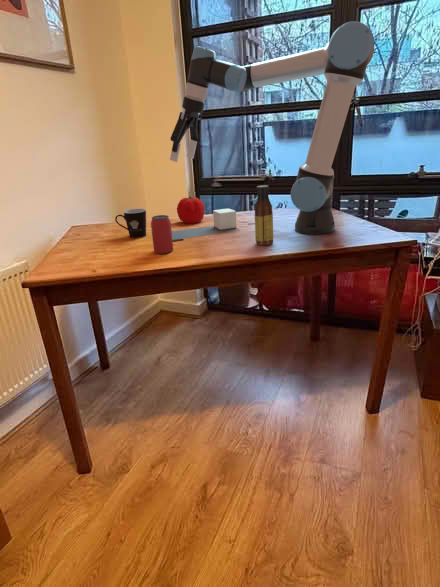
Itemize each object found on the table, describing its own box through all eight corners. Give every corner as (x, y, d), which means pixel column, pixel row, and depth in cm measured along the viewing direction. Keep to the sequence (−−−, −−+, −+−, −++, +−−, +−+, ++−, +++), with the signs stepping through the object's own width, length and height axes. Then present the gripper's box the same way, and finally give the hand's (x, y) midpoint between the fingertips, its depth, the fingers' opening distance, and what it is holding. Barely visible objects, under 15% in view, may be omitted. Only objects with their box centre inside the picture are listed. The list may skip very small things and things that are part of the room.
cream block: (236, 228, 153) (235, 211, 150) (220, 231, 151) (219, 213, 148) (229, 225, 159) (228, 208, 156) (213, 227, 157) (213, 210, 154)
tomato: (173, 226, 164) (171, 199, 160) (183, 219, 176) (181, 193, 172) (201, 226, 162) (199, 199, 157) (209, 219, 173) (207, 193, 169)
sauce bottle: (273, 241, 136) (274, 184, 129) (272, 246, 131) (273, 187, 123) (255, 241, 138) (255, 184, 130) (253, 246, 132) (253, 187, 124)
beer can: (157, 255, 127) (153, 220, 122) (151, 250, 132) (147, 216, 127) (176, 252, 130) (173, 217, 125) (169, 247, 135) (166, 213, 130)
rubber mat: (240, 231, 151) (240, 230, 151) (172, 241, 142) (172, 240, 142) (227, 225, 162) (227, 223, 162) (163, 233, 153) (163, 232, 153)
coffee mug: (153, 234, 154) (150, 209, 150) (140, 239, 147) (137, 213, 143) (129, 232, 158) (126, 207, 154) (116, 237, 151) (112, 212, 147)
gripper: (200, 97, 145) (188, 153, 155) (168, 93, 124) (156, 158, 134) (217, 102, 143) (204, 159, 154) (188, 100, 122) (175, 165, 133)
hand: (182, 159), depth 144 cm, fingers open, 13 cm apart
